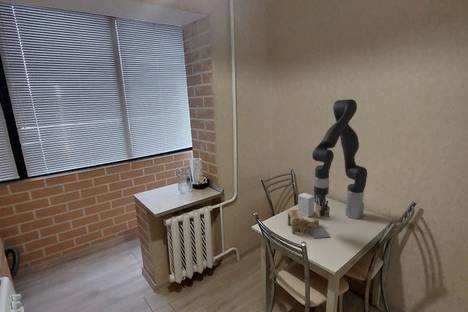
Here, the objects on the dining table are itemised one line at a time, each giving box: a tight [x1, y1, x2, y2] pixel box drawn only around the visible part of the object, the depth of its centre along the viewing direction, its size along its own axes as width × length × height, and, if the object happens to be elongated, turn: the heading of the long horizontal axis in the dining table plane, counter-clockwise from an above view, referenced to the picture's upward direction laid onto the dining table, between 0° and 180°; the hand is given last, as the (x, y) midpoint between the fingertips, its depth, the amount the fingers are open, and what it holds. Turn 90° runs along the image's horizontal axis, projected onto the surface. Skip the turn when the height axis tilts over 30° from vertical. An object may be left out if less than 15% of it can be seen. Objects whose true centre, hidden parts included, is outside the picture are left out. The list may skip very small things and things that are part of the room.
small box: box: [297, 192, 315, 218], centre depth 163 cm, size 8×6×13 cm
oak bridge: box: [287, 209, 305, 235], centre depth 147 cm, size 6×11×9 cm, turn 2°
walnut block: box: [315, 203, 331, 218], centre depth 138 cm, size 6×6×6 cm
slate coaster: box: [308, 227, 331, 239], centre depth 141 cm, size 9×9×1 cm
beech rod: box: [290, 217, 320, 232], centre depth 148 cm, size 16×4×4 cm, turn 104°
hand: (320, 213), depth 138 cm, fingers closed on walnut block, 5 cm apart
